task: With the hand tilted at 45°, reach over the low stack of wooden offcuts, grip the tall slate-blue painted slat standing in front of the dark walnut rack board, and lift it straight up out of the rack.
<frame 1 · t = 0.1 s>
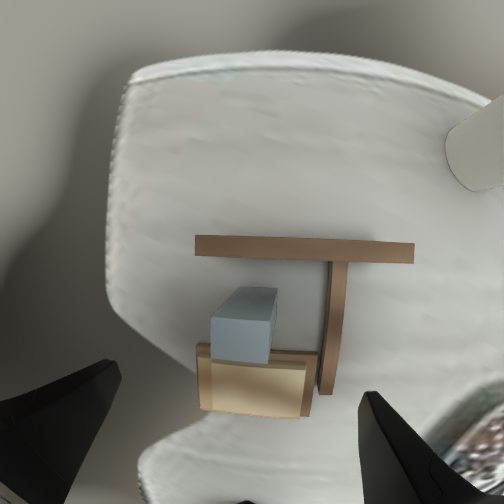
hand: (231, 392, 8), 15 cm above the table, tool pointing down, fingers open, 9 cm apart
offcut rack: (258, 301, 24), on the table
slate slat: (258, 301, 24), on the table
cylindrical container: (469, 158, 20), on the table
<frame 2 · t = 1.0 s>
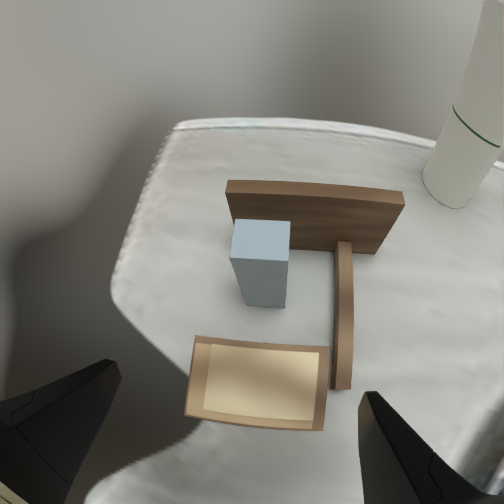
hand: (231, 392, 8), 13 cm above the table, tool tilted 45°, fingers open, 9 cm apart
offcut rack: (267, 292, 24), on the table
slate slat: (267, 293, 24), on the table
cylindrical container: (444, 186, 28), on the table
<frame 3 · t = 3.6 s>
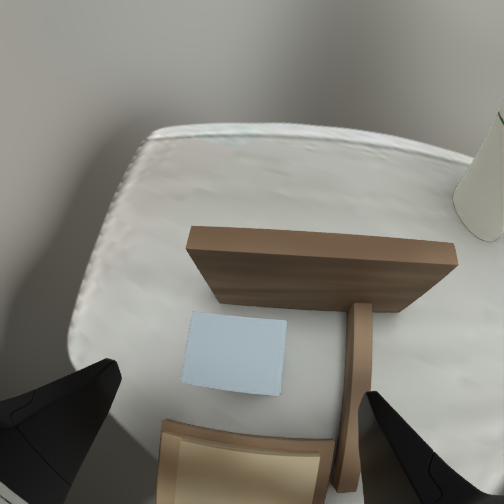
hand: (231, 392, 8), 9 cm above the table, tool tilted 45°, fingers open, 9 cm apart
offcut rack: (255, 370, 17), on the table
slate slat: (255, 370, 17), on the table
cylindrical container: (477, 212, 21), on the table
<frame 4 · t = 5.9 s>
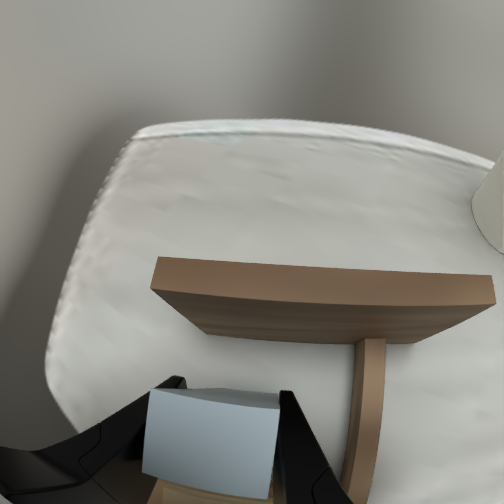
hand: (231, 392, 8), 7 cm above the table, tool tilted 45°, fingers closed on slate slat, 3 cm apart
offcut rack: (247, 412, 14), on the table
slate slat: (247, 412, 14), on the table, touching gripper
cylindrical container: (496, 222, 18), on the table
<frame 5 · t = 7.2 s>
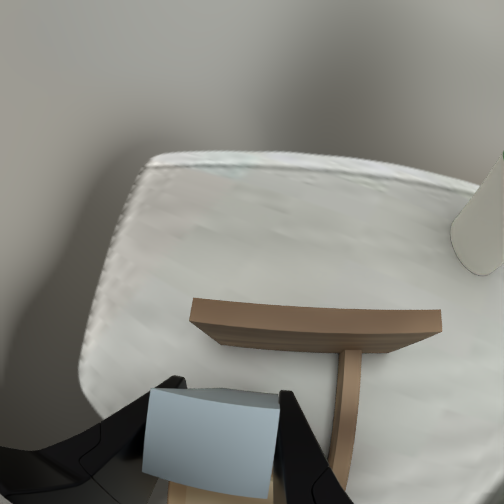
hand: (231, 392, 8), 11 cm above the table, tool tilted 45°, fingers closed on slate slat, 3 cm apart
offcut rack: (253, 405, 18), on the table
slate slat: (247, 411, 14), point 5 cm above the table, touching gripper
cylindrical container: (474, 245, 22), on the table
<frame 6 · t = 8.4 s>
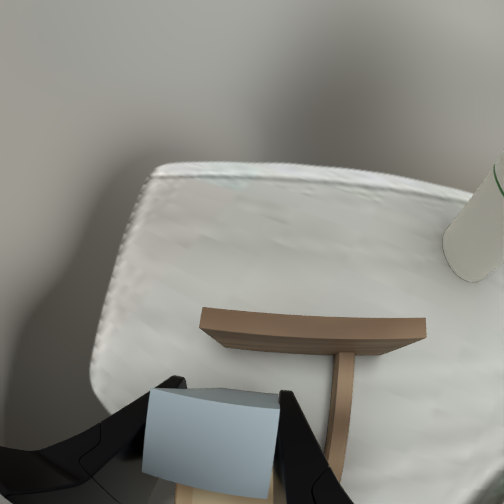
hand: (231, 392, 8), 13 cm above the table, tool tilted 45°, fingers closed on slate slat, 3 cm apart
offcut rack: (255, 403, 19), on the table
slate slat: (247, 411, 14), point 6 cm above the table, touching gripper
cylindrical container: (465, 252, 23), on the table
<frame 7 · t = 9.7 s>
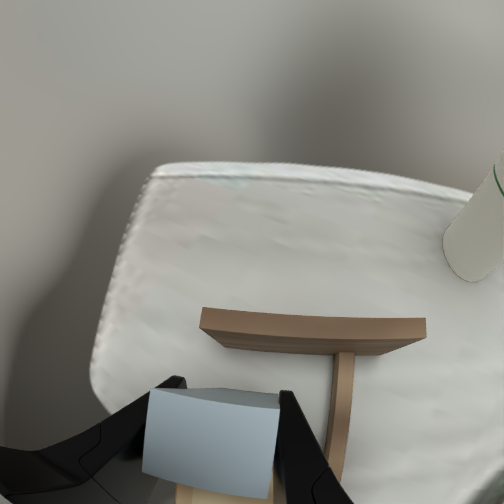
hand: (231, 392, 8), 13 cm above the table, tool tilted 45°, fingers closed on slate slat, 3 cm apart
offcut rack: (255, 403, 19), on the table
slate slat: (247, 411, 14), point 6 cm above the table, touching gripper
cylindrical container: (465, 252, 23), on the table
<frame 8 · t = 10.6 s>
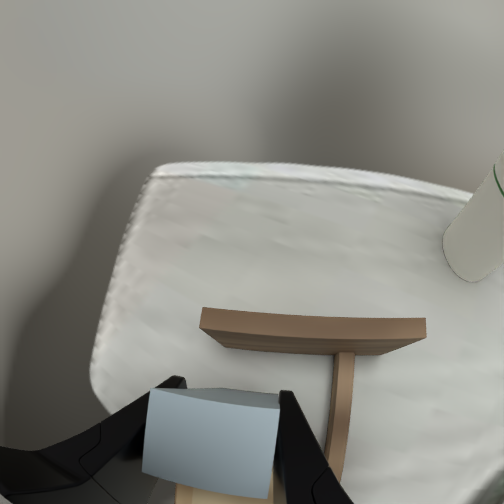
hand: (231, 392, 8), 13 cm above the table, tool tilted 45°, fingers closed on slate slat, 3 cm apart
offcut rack: (255, 403, 19), on the table
slate slat: (247, 411, 14), point 6 cm above the table, touching gripper
cylindrical container: (465, 252, 23), on the table
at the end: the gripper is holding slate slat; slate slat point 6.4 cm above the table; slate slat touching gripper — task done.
